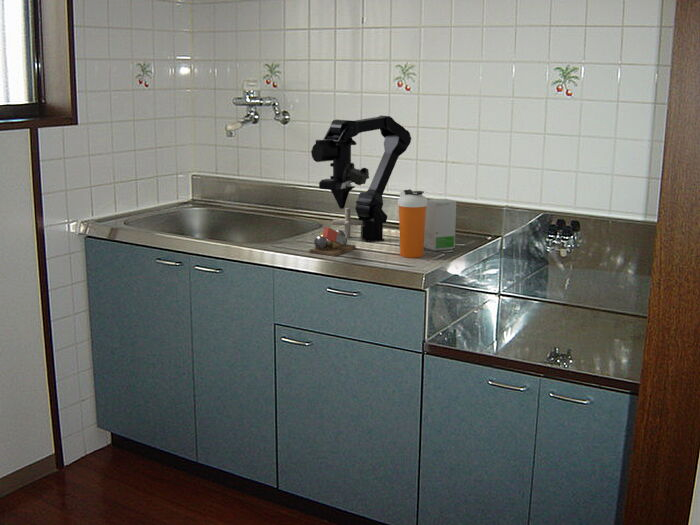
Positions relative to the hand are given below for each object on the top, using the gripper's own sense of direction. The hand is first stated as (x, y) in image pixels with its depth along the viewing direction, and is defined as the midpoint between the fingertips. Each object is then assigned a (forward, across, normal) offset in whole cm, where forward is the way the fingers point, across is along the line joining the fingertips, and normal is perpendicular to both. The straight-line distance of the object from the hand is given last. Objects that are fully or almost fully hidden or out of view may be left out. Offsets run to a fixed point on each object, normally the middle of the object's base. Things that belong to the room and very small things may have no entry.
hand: (341, 208), depth 270 cm
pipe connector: (+12, +12, +5) cm, 18 cm away
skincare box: (+12, +12, -29) cm, 34 cm away
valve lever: (+9, -8, -6) cm, 13 cm away
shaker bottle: (+12, -2, -26) cm, 29 cm away
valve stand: (+12, -9, -2) cm, 15 cm away
